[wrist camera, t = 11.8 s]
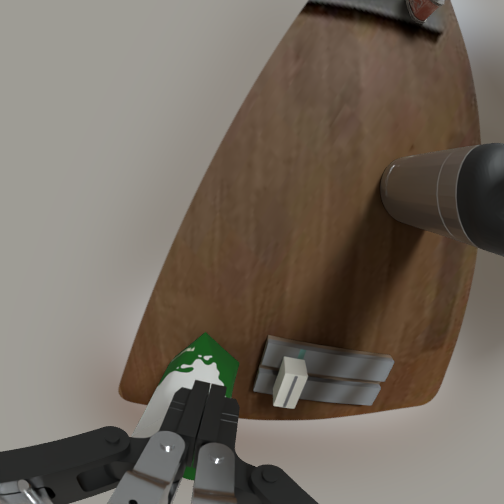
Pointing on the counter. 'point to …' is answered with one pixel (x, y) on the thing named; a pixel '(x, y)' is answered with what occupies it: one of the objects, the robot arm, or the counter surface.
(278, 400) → the slider knob
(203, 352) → the milk carton
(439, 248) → the counter surface
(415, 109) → the counter surface
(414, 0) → the lighter
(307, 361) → the slider panel
